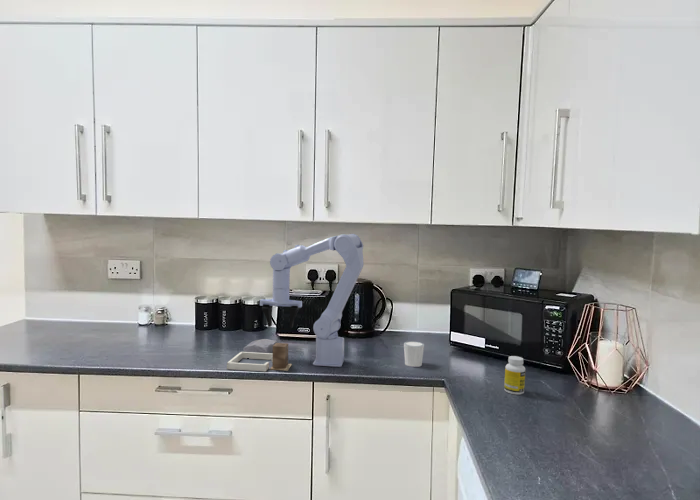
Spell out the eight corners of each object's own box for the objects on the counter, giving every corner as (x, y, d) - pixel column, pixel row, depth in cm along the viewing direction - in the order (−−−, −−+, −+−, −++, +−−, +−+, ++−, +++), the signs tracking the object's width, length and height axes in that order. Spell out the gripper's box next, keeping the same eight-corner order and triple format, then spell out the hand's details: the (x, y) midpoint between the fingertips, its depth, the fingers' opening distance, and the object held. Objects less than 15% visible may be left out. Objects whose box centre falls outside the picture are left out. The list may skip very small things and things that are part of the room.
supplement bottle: (522, 396, 125) (523, 362, 124) (502, 392, 128) (503, 358, 127) (526, 390, 130) (527, 357, 129) (506, 386, 132) (508, 354, 132)
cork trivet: (291, 365, 147) (291, 364, 147) (287, 370, 142) (287, 369, 142) (275, 364, 148) (275, 363, 148) (270, 369, 142) (270, 368, 142)
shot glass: (411, 359, 156) (412, 340, 156) (427, 364, 152) (428, 344, 151) (399, 363, 152) (399, 343, 151) (415, 368, 147) (416, 347, 146)
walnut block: (288, 364, 147) (288, 343, 146) (284, 368, 143) (285, 346, 142) (276, 363, 147) (276, 342, 147) (272, 367, 143) (272, 346, 143)
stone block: (241, 360, 157) (268, 357, 155) (239, 347, 157) (266, 343, 156) (254, 352, 169) (279, 349, 167) (252, 339, 169) (277, 336, 167)
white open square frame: (276, 359, 153) (276, 353, 153) (265, 371, 141) (265, 365, 140) (240, 357, 154) (240, 351, 154) (226, 369, 142) (226, 362, 142)
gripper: (304, 287, 158) (303, 325, 159) (264, 285, 160) (263, 323, 161) (299, 290, 151) (299, 329, 152) (257, 288, 153) (257, 327, 154)
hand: (280, 326), depth 156 cm, fingers open, 7 cm apart
